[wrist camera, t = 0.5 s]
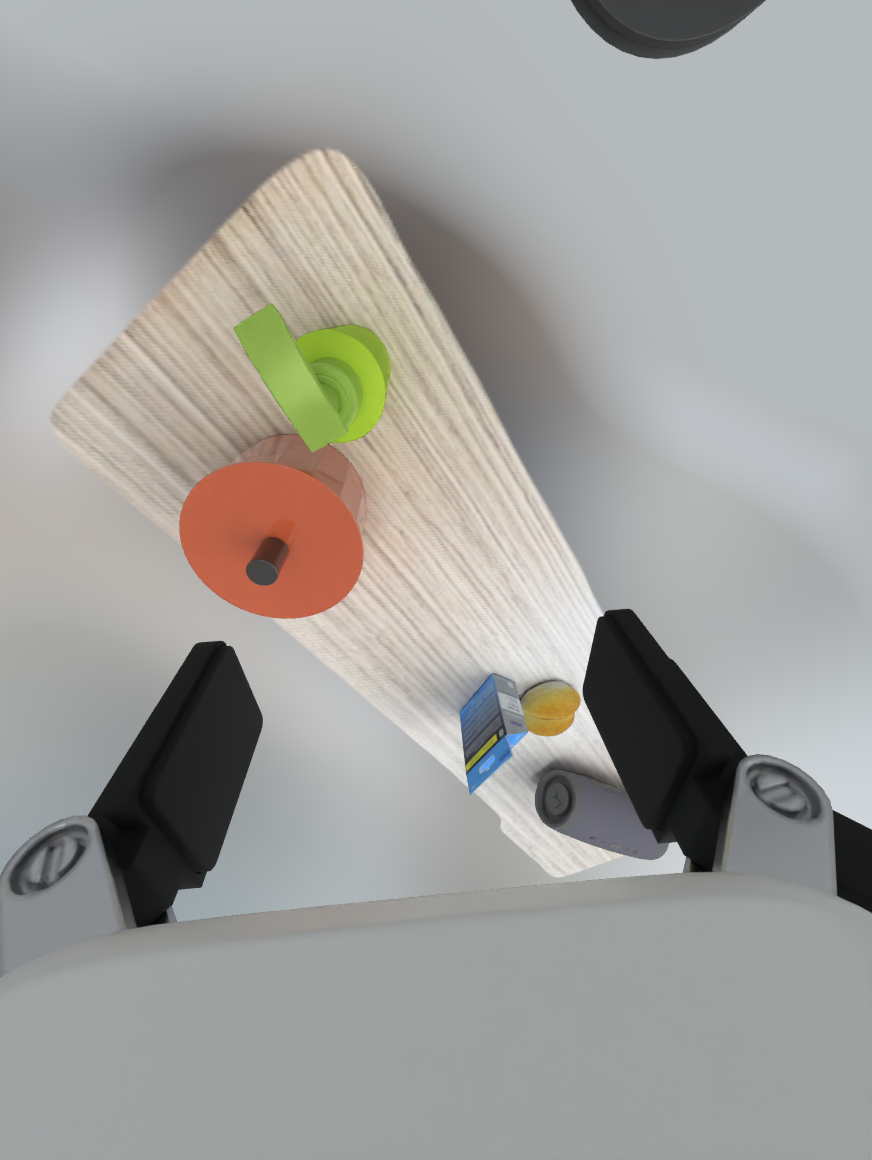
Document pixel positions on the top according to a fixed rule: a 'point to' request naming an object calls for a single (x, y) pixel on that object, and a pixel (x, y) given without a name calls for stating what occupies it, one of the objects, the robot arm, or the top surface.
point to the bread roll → (550, 708)
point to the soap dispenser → (320, 376)
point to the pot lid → (271, 539)
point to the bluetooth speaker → (594, 814)
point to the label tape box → (491, 729)
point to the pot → (314, 467)
